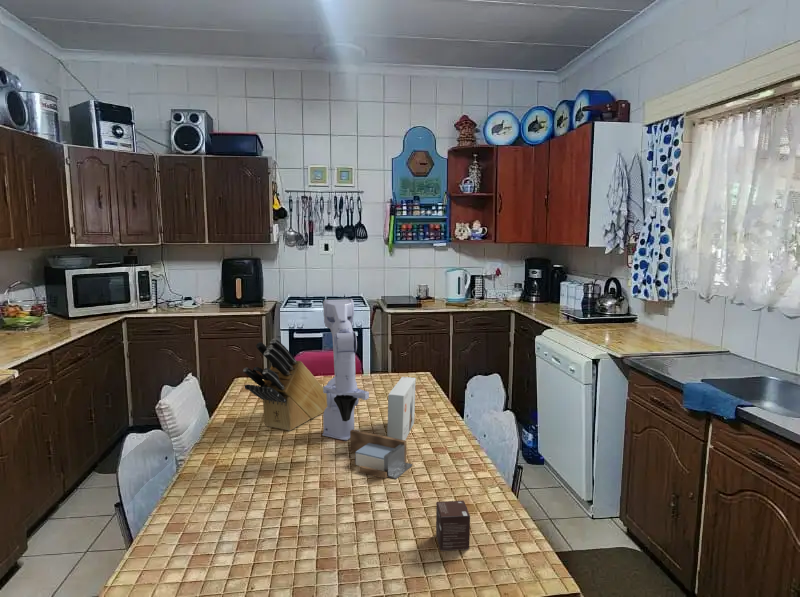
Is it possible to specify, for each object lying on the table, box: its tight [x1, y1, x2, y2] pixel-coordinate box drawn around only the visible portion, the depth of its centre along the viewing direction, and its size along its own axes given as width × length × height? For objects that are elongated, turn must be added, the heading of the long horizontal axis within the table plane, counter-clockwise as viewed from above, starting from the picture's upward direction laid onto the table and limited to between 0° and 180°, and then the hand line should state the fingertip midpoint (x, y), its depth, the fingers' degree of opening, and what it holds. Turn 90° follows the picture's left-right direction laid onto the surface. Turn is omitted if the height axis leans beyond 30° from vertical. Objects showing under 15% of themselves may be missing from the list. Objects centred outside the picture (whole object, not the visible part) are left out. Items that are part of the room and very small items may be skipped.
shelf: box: [349, 429, 408, 479], centre depth 141 cm, size 18×12×6 cm, turn 61°
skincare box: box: [386, 376, 416, 441], centre depth 162 cm, size 21×6×16 cm, turn 168°
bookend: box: [384, 444, 413, 480], centre depth 136 cm, size 4×9×6 cm, turn 151°
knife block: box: [242, 338, 327, 431], centre depth 172 cm, size 11×35×31 cm, turn 154°
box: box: [435, 499, 471, 552], centre depth 104 cm, size 6×6×7 cm
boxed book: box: [355, 443, 394, 471], centre depth 140 cm, size 10×7×4 cm
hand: (346, 420), depth 147 cm, fingers closed
